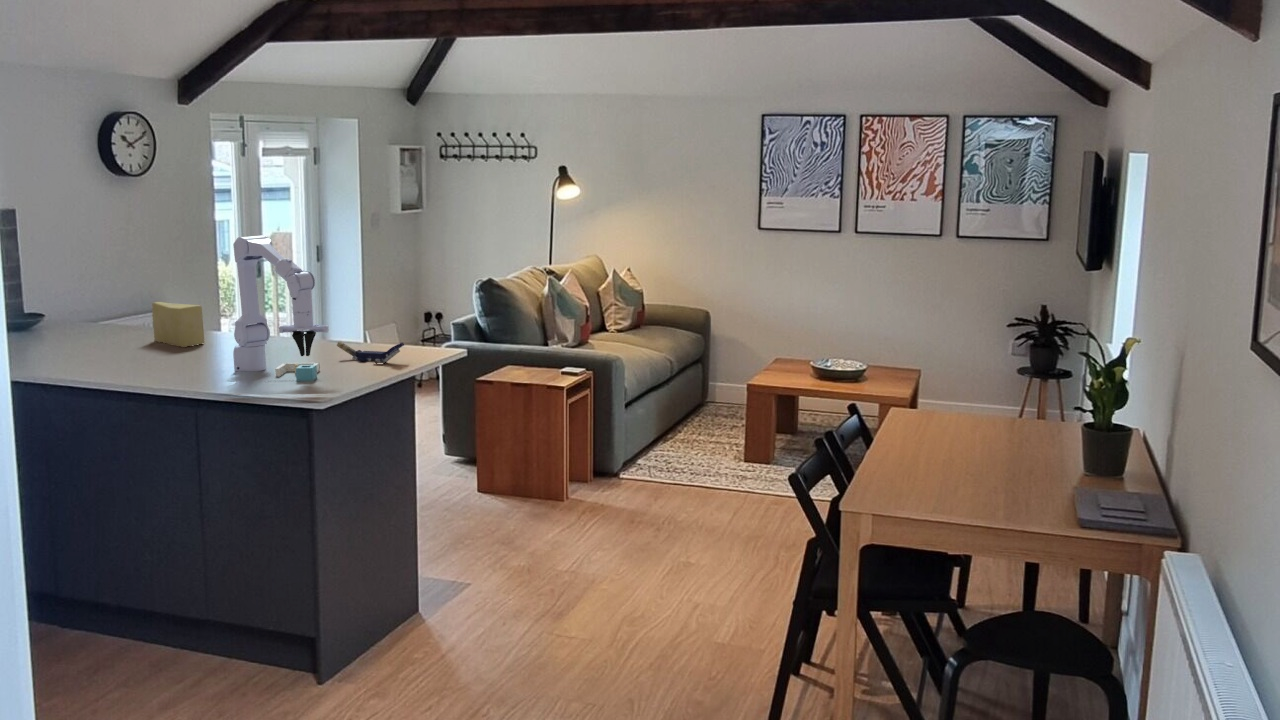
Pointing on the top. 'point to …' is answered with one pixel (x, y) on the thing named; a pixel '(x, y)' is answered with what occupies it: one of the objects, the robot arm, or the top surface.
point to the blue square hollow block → (306, 373)
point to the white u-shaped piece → (292, 367)
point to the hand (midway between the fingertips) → (305, 355)
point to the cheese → (178, 324)
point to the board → (292, 381)
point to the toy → (371, 353)
